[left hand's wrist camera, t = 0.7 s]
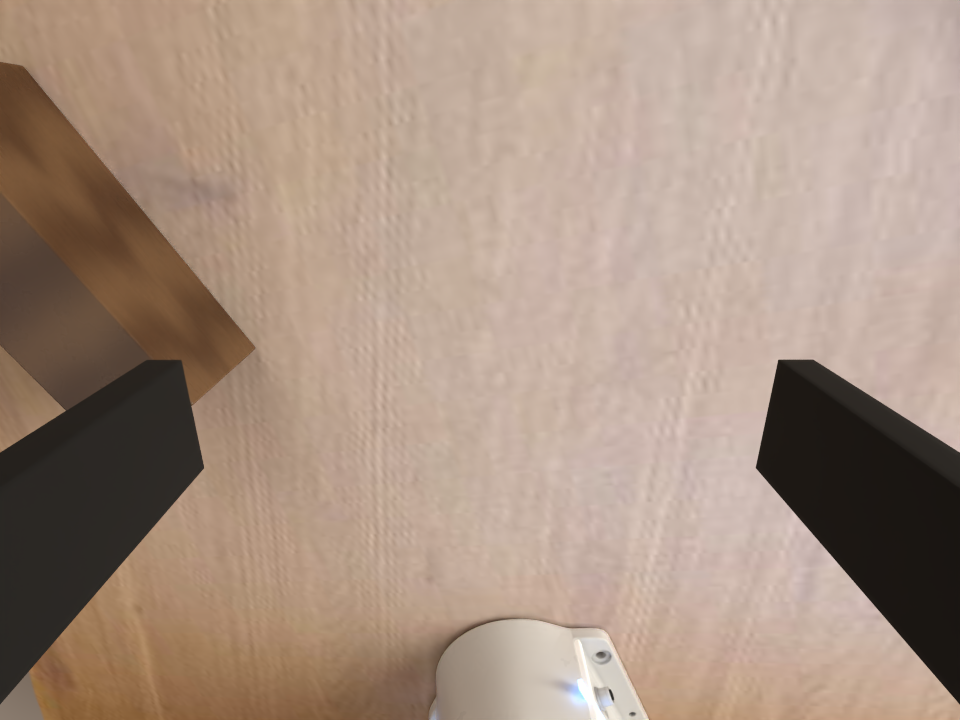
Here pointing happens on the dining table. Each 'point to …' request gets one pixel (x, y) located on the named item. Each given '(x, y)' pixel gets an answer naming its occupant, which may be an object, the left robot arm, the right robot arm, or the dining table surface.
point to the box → (91, 265)
